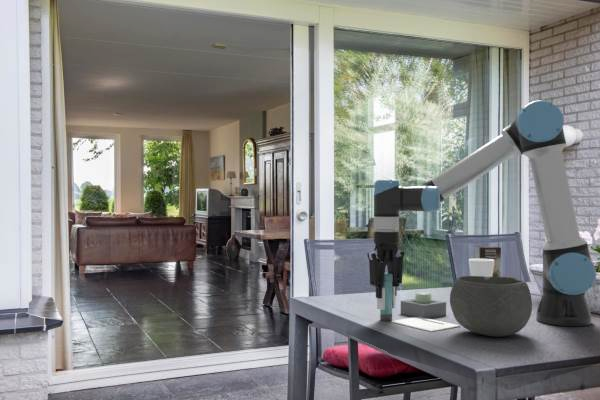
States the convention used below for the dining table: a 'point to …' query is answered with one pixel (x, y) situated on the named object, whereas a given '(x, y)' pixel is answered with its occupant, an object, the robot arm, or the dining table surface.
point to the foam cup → (481, 267)
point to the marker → (387, 298)
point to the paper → (425, 324)
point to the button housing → (423, 308)
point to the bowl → (491, 304)
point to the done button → (423, 297)
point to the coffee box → (490, 257)
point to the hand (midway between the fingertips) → (386, 308)
